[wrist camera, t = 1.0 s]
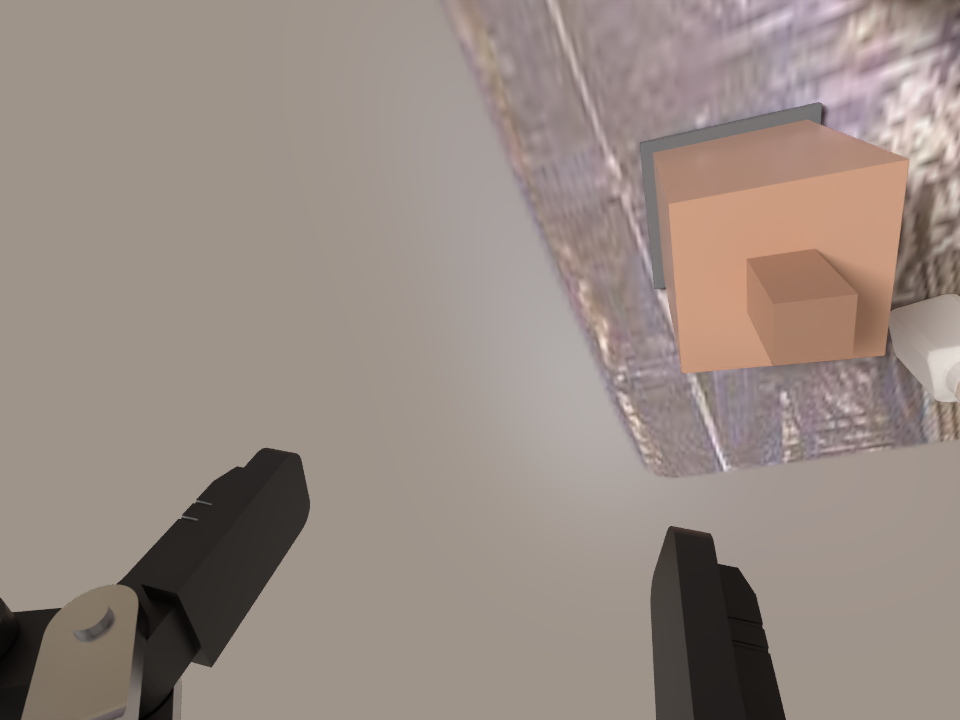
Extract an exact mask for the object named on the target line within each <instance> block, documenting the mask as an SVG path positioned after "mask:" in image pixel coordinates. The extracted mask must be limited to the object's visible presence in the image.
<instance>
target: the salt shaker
mask: <svg viewBox="0 0 960 720" xmlns="http://www.w3.org/2000/svg"><path fill="white" fill-rule="evenodd" d="M889 330H890V335H891V339H892V344H893V349H894V354H895V355H896V356H897V357H898V358H899V359H900V361H901V362H902V363H903V364H904V365H905V366H906V367H907V368H908V369H909V371H910V372H911V373H912V374H913V375H914V376H915V377H916V378H917V380H918V381H919V382H920V383H921V384H922V385H923V386H924V387H925V389H926V390H927V391H928V392H929V393H930V394H931V395H932V396H933V397H934V398H935V399H936V400H937V401H941V402H947V403H949V402H959V403H960V296H959V295H957V294H944V295H941V296H937V297H934V298H930V299H927V300H923V301H920V302H916V303H913V304H909V305H906V306H903V307H899V308H896V309H893V310H892V311H890V317H889Z"/></svg>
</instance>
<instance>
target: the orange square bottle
mask: <svg viewBox="0 0 960 720" xmlns="http://www.w3.org/2000/svg"><path fill="white" fill-rule="evenodd" d="M653 162H654V173H655V184H656V195H657V206H658V217H659V229H660V240H661V251H662V262H663V273H664V281H665V286H666V292H667V297H668V302H669V308H670V313H671V318H672V323H673V329H674V334H675V339H676V344H677V350H678V355H679V360H680V365H681V371H682V373H693V372H704V371H715V370H727V369H738V368H749V367H761V366H772V365H773V366H775V365H786V364H798V363H809V362H821V361H832V360H843V359H852V358H863V357H874V356H885V349H886V341H887V333H888V325H889V317H890V309H891V301H892V293H893V285H894V278H895V270H896V262H897V254H898V246H899V238H900V230H901V222H902V214H903V206H904V198H905V190H906V182H907V174H908V166H909V159H907V158H905V157H902V156H900V155H897V154H894V153H892V152H889V151H887V150H884V149H882V148H879V147H877V146H874V145H872V144H869V143H866V142H864V141H861V140H859V139H856V138H854V137H851V136H849V135H846V134H843V133H841V132H838V131H836V130H833V129H831V128H828V127H826V126H823V125H821V124H818V123H815V122H813V121H810V120H808V119H807V120H802V121H797V122H793V123H788V124H784V125H779V126H774V127H770V128H765V129H761V130H756V131H751V132H747V133H742V134H738V135H733V136H728V137H724V138H719V139H714V140H710V141H705V142H701V143H696V144H691V145H687V146H682V147H678V148H673V149H668V150H664V151H659V152H655V153H653Z"/></svg>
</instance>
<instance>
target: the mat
mask: <svg viewBox="0 0 960 720" xmlns="http://www.w3.org/2000/svg"><path fill="white" fill-rule="evenodd" d="M821 110H822V103H819V102H818V103H813V104H809V105H804V106H800V107H795V108H791V109H786V110H782V111H778V112H773V113H769V114H764V115H760V116H755V117H751V118H746V119H742V120H738V121H733V122H729V123H724V124H720V125H715V126H711V127H706V128H702V129H698V130H693V131H689V132H684V133H680V134H675V135H671V136H666V137H662V138H657V139H653V140H649V141H644V142H640V150H641V160H642V170H643V180H644V190H645V200H646V210H647V220H648V230H649V240H650V250H651V260H652V270H653V280H654V289H659V288H666V286H665V281H664V273H663V262H662V251H661V240H660V229H659V217H658V206H657V195H656V184H655V173H654V162H653V153H655V152H659V151H664V150H668V149H673V148H678V147H682V146H687V145H691V144H696V143H701V142H705V141H710V140H714V139H719V138H724V137H728V136H733V135H738V134H742V133H747V132H751V131H756V130H761V129H765V128H770V127H774V126H779V125H784V124H788V123H793V122H797V121H802V120H807V119H808V120H810V121H813V122H815V123H818V124H821Z"/></svg>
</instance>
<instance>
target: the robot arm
mask: <svg viewBox="0 0 960 720" xmlns="http://www.w3.org/2000/svg"><path fill="white" fill-rule="evenodd" d="M309 509H310V499H309V494H308V490H307V485H306V480H305V475H304V470H303V466H302V461H301V458H300V456H299V455H298V454H296V453H292V452H286V451H281V450H275V449H270V448H263V449H261V450H260V451H259V452H257V453H256V455H255V456H254V457H253V458H252V459H251V460H250V461H249V462H248V464H247V465H246V466H245V467H244V468H242V467H235V468H234V469H232V470H230V471H229V472H227V473H226V474H224V475H223V476H221V477H219V478H218V479H216V480H215V481H213V482H212V483H211V485H209V487H208V488H207V489H206V490H205V491H204V492H203V493H202V494H201V495H200V496H199V498H197V501H196V503H195V504H194V503H193V504H192V505H191V506H190V507H189V508H188V509H187V510H186V511H185V512H184V513H183V515H182V518H181V519H178V520H177V521H176V522H175V523H174V524H173V525H172V526H171V528H170V529H169V530H168V531H167V532H166V533H165V534H164V535H163V536H162V537H161V538H160V539H159V540H158V542H157V543H156V544H155V545H154V546H153V547H152V548H151V549H150V550H149V551H148V552H147V553H146V554H145V555H144V557H143V558H142V559H141V560H140V561H139V562H138V563H137V564H136V565H135V566H134V567H133V568H132V570H131V571H130V572H129V573H128V574H127V575H126V576H125V577H124V578H123V579H122V580H121V581H120V582H118V583H117V584H116V585H114V584H113V585H105V586H101V587H98V588H95V589H92V590H89V591H88V592H85V593H83V594H81V595H80V596H78V597H76V598H75V599H73V600H72V601H70V602H69V603H68V604H66V605H65V606H64V607H63V608H58V609H57V608H56V609H45V610H34V611H23V612H11V611H10V609H9V608H8V607H7V605H6V604H5V603H4V601H3V600H2V599H1V598H0V720H181V698H182V696H181V695H182V682H181V678H180V677H181V675H182V674H183V673H184V671H185V670H186V668H187V667H188V665H189V664H190V663H191V662H194V663H197V664H201V665H204V666H208V667H212V666H213V665H214V663H215V662H216V660H217V658H218V657H219V655H220V654H221V652H222V651H223V649H224V648H225V646H226V645H227V643H228V642H229V640H230V639H231V637H232V636H233V634H234V633H235V631H236V630H237V628H238V626H239V625H240V623H241V622H242V620H243V619H244V617H245V616H246V614H247V613H248V611H249V610H250V608H251V607H252V605H253V604H254V602H255V600H256V599H257V597H258V596H259V595H260V593H261V591H262V590H263V588H264V587H265V585H266V584H267V582H268V581H269V579H270V578H271V576H272V575H273V573H274V572H275V570H276V568H277V567H278V565H279V564H280V563H281V561H282V559H283V558H284V556H285V555H286V553H287V552H288V550H289V549H290V547H291V546H292V544H293V543H294V541H295V540H296V538H297V536H298V535H299V534H300V532H301V530H302V529H303V527H304V525H305V523H306V521H307V518H308V514H309ZM651 622H652V642H653V643H652V644H653V663H654V683H655V704H656V720H786V718H785V714H784V710H783V705H782V701H781V697H780V693H779V689H778V685H777V681H776V677H775V672H774V668H773V664H772V660H771V656H770V654H769V653H768V643H767V639H766V635H765V631H764V629H763V628H762V625H763V623H762V618H761V614H760V610H759V606H758V602H757V597H756V594H755V593H754V591H753V590H752V588H751V587H750V585H749V584H748V582H747V581H746V579H745V578H744V576H743V575H742V573H741V572H740V570H739V568H736V567H731V566H726V565H721V564H718V563H717V558H716V552H715V546H714V541H713V538H712V536H711V534H710V533H705V532H700V531H694V530H690V529H684V528H679V527H673V526H670V527H669V528H668V530H667V533H666V536H665V540H664V543H663V546H662V549H661V552H660V555H659V559H658V562H657V565H656V568H655V571H654V575H653V580H652V587H651Z"/></svg>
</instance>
